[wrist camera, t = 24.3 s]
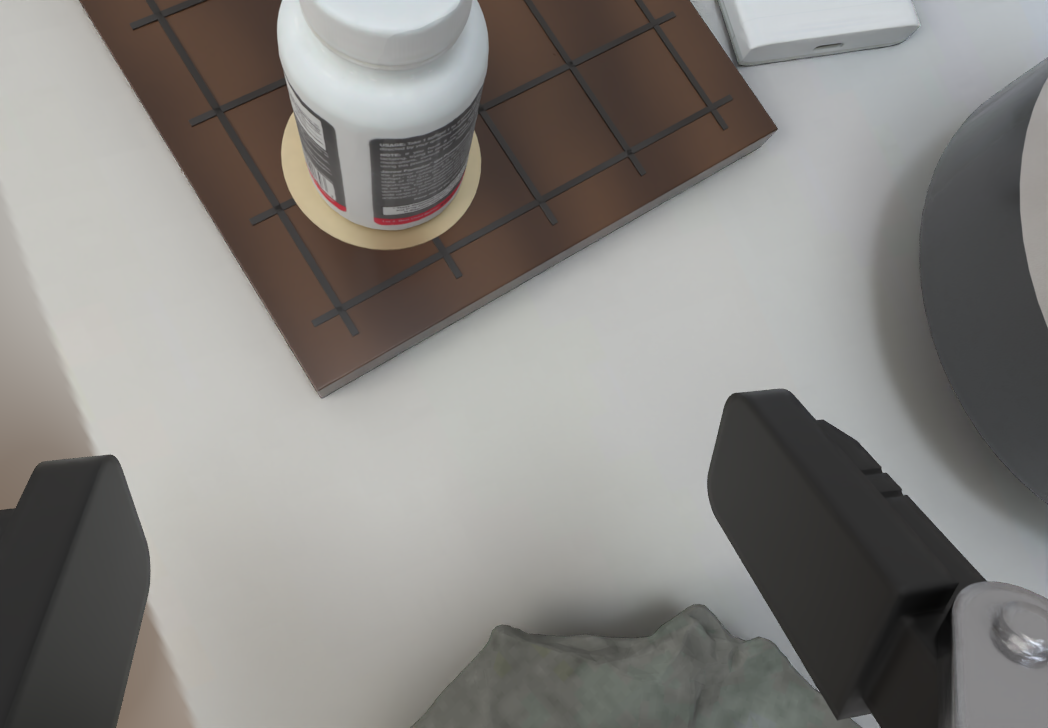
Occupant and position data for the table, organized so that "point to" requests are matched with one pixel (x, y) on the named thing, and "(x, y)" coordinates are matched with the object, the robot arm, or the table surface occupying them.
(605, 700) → the stone
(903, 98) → the table surface
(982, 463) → the table surface
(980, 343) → the planter
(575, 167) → the board
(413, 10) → the pill bottle
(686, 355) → the table surface
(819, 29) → the hard drive
